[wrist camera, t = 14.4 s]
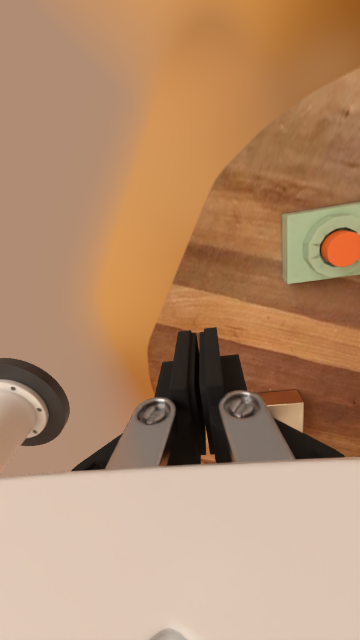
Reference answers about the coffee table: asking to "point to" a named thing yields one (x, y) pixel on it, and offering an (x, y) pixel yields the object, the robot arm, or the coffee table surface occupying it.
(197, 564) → the robot arm
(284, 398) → the dial panel
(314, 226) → the button box
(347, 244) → the button
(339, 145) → the coffee table surface
